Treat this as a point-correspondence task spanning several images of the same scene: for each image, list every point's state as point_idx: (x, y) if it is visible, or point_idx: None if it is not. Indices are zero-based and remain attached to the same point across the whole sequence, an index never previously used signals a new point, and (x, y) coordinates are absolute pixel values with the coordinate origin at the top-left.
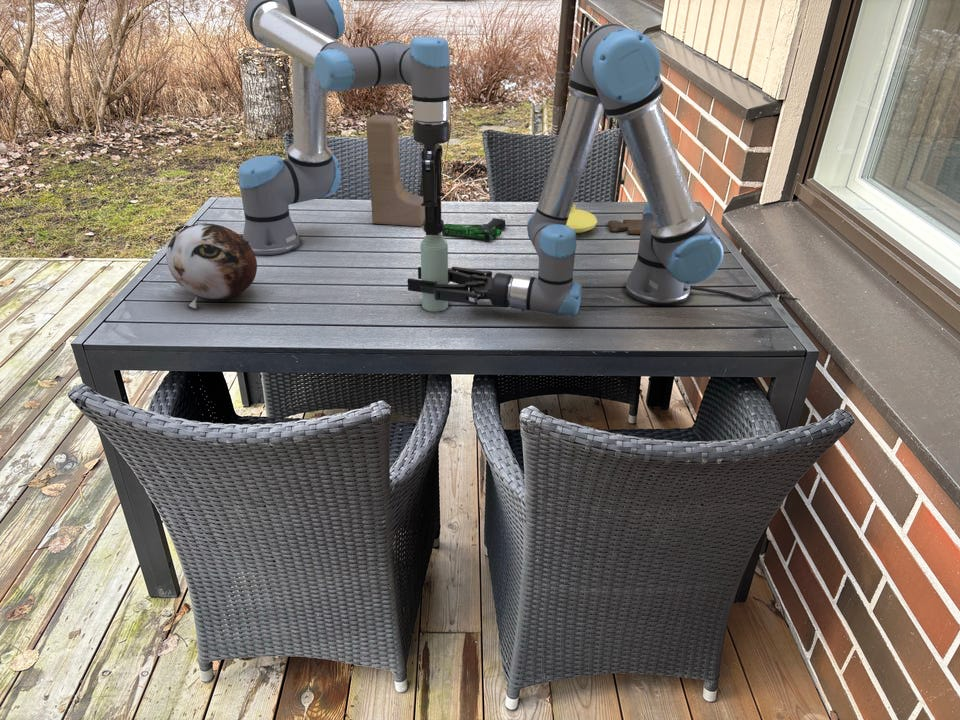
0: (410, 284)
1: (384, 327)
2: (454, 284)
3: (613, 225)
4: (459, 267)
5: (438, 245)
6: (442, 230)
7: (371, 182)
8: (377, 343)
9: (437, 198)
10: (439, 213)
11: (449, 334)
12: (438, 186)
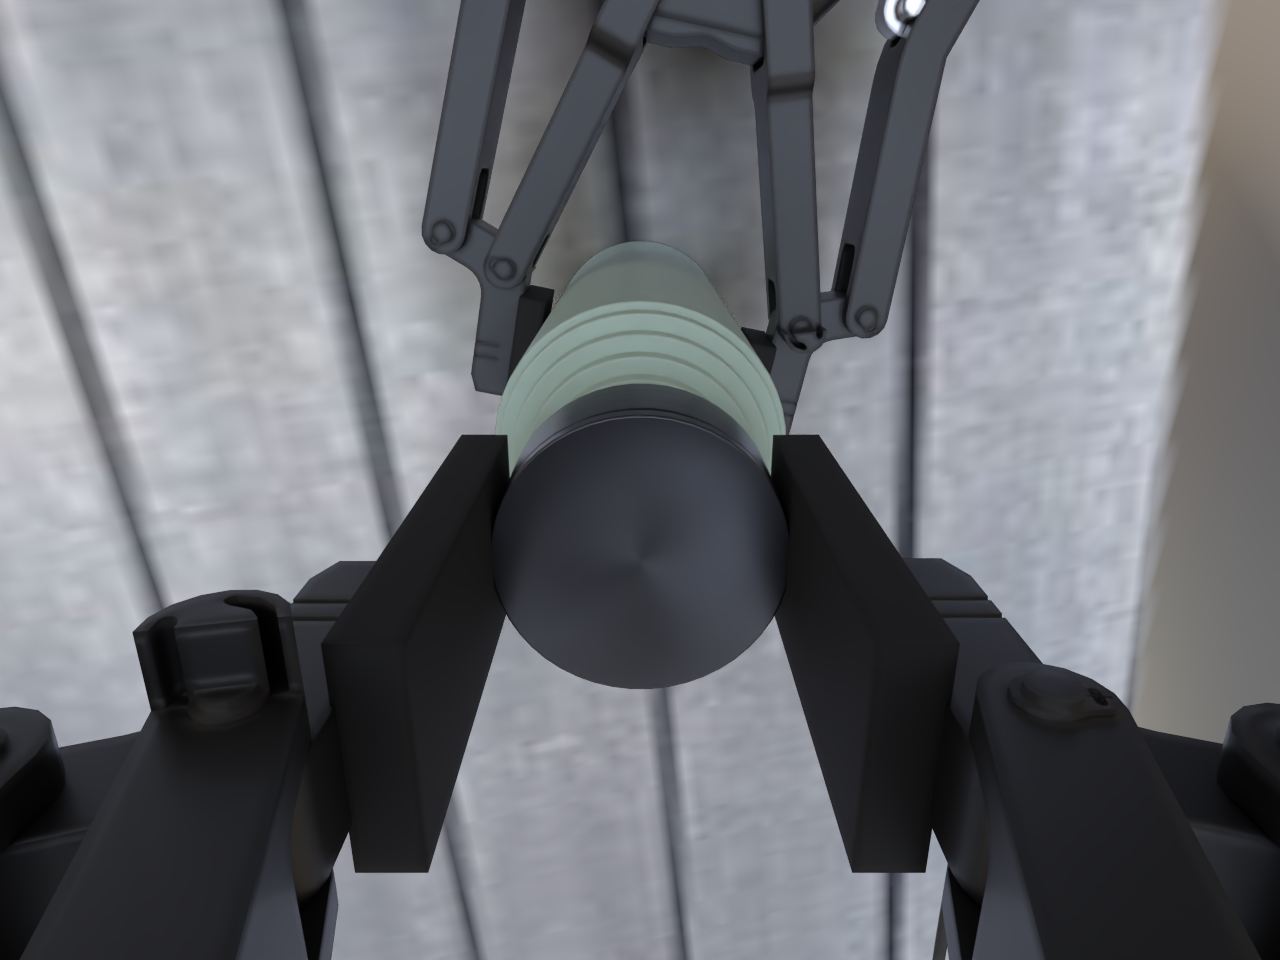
0: None
1: (922, 556)
2: (779, 188)
3: None
4: (432, 183)
5: (753, 396)
6: (692, 397)
7: None
8: (1094, 558)
9: (411, 705)
10: (474, 526)
11: (1016, 185)
12: (263, 914)
